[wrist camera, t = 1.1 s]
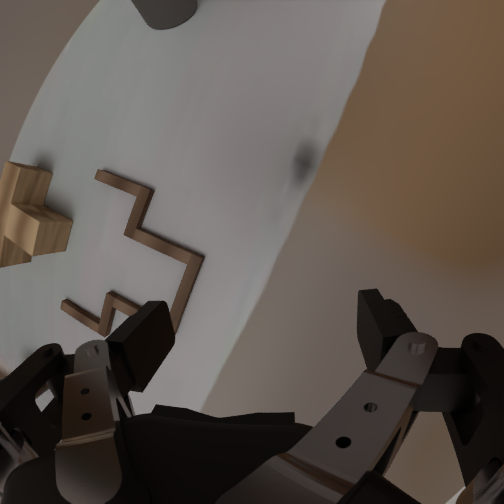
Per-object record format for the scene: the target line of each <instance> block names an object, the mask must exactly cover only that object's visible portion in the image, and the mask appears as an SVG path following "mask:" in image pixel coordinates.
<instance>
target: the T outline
mask: <svg viewBox="0 0 504 504" xmlns="http://www.w3.org/2000/svg"><path fill="white" fill-rule="evenodd" d="M94 179H96V180H98V181H101V182H103V183H105V184H108V185H110V186H113V187H115V188H117V189H120V190H122V191H125V192H127V193H130V194H132V195H134V196H137V198H136V201H135V203H134V206H133V209H132V212H131V215H130V217H129V220H128V223H127V226H126V229H125V232H124V235H125V236H127V237H129V238H131V239H133V240H135V241H138V242H140V243H142V244H144V245H146V246H148V247H150V248H152V249H155V250H157V251H159V252H161V253H163V254H165V255H168V256H170V257H172V258H174V259H176V260H179V261H181V262H183V263H185V264H187V267H186V270H185V272H184V275H183V278H182V280H181V283H180V286H179V289H178V291H177V294H176V297H175V300H174V303H173V305H172V308H171V311H170V316H171V320H172V324H173V328H174V332H175V334H176V332H177V329H178V326H179V324H180V321H181V318H182V316H183V313H184V310H185V307H186V305H187V302H188V299H189V297H190V294H191V291H192V289H193V286H194V284H195V281H196V278H197V276H198V273H199V271H200V268H201V265H202V263H203V260H204V258H205V257H204V256H201V255H199V254H197V253H194V252H192V251H190V250H188V249H185V248H183V247H181V246H179V245H176V244H174V243H172V242H170V241H167V240H165V239H163V238H161V237H158V236H156V235H154V234H152V233H150V232H147V231H145V230H143V229H141V226H142V223H143V220H144V217H145V214H146V212H147V209H148V206H149V204H150V201H151V199H152V196H153V193H154V191H153V190H151V189H148V188H146V187H143V186H141V185H138V184H136V183H133V182H131V181H128V180H126V179H123V178H121V177H118V176H116V175H113V174H110V173H108V172H105V171H103V170H99V169H98V170H97V173H96V176H95V178H94ZM140 308H141V307H140V306H139V305H137V304H135V303H133V302H131V301H129V300H127V299H125V298H123V297H122V296H120V295H118V294H116V293H114V292H112V291H110V292H108V293H106V297H105V301H104V305H103V309H102V314H101V318H100V319H98V318H97V317H95V316H93V315H92V314H90V313H88V312H87V311H85V310H84V309H82V308H80V307H79V306H77V305H76V304H74V303H73V302H71V301H70V300H68V299H65V300H63V301H62V303H61V310H63V311H64V312H66V313H67V314H69V315H70V316H72V317H73V318H75V319H76V320H78V321H79V322H81V323H83V324H84V325H86V326H87V327H89V328H90V329H92V330H94V331H95V332H97V333H99V334H100V335H102V336H104V337H106V336H108V335H109V334H110V330H111V326H112V322H113V318H114V314H115V310H116V309H117V310H119V311H121V312H123V313H124V314H126V315H128V316H131V315H133V314H135V313H136V312H137V311H138V310H139V309H140Z"/></svg>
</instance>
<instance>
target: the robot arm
mask: <svg viewBox="0 0 504 504" xmlns="http://www.w3.org/2000/svg"><path fill="white" fill-rule="evenodd" d="M131 1H132V2H133V4H134V5H135V7H136V8H137V10H138V11H139V13H140V14H141V16H142V17H143V19H144V20H145V22H146V23H147V25H148V26H149V27H151V28H153V29H168V28H172V27H175V26H177V25H180V24H181V23H183V22H185V21H186V20H188V19H189V18H190V17H191V16H192V15H193V14H194V12H195V11H196V8H197V3H196V0H131ZM357 309H358V310H357V337H358V341H359V344H360V348H361V351H362V354H363V357H364V360H365V364H366V367H367V369H366V370H364V371H363V372H362V373H361V375H360V376H359V377H358V379H357V380H356V381H355V382H354V383H353V385H352V386H351V387H350V388H349V389H348V390H347V392H346V393H345V394H344V395H343V396H342V397H341V398H340V400H339V401H338V402H337V403H336V404H335V405H334V406H333V407H332V408H331V409H330V411H329V412H328V413H327V414H326V415H325V416H324V417H323V418H322V419H321V420H320V421H319V422H318V423H317V424H316V425H315V426H314V427H312V426H309V425H305V424H301V423H295V413H294V412H286V413H253V414H246V415H239V416H231V417H223V418H217V417H213V416H209V415H205V414H203V413H199V412H196V411H193V410H190V409H187V408H179V407H171V406H164V405H157V404H156V405H155V407H154V409H153V410H152V412H151V413H148V414H140V415H135V412H134V409H133V405H132V401H131V398H130V396H129V394H128V392H129V391H136V392H143V391H144V389H145V388H146V386H147V385H148V383H149V382H150V380H151V379H152V377H153V376H154V374H155V373H156V371H157V370H158V368H159V367H160V365H161V364H162V362H163V361H164V359H165V358H166V356H167V355H168V353H169V352H170V350H171V349H172V347H173V346H174V343H175V332H174V328H173V324H172V320H171V316H170V312H169V308H168V305H167V303H166V302H165V301H148V302H147V303H145V304H144V305H143V306H142V307H141V308H140V309H139V310H138V311H137V312H136V313H135V314H133V315H131V316H129V317H128V318H127V319H126V320H125V321H124V322H123V323H122V324H121V325H120V326H119V327H118V328H117V329H116V330H115V331H114V332H113V333H112V334H111V335H110V336H109V337H107V338H106V339H105V340H92V341H88V342H86V343H84V344H82V345H81V346H79V347H78V348H77V349H76V351H75V354H69V355H64V352H63V350H62V348H61V346H60V345H59V344H56V343H52V344H47V345H44V346H42V347H40V348H39V349H38V350H36V351H35V352H34V353H33V354H32V355H31V356H30V357H28V358H27V359H26V360H25V361H24V362H23V363H22V364H21V365H19V366H18V367H17V368H16V369H15V370H14V371H13V372H12V373H11V374H10V375H9V376H7V377H6V378H5V379H4V380H3V381H2V382H1V383H0V496H1V497H2V500H1V504H421V503H420V502H418V501H416V500H415V499H414V498H412V497H411V496H409V495H408V494H406V493H405V492H403V491H402V490H401V489H399V488H398V487H397V486H395V485H394V484H392V483H391V482H390V481H388V480H387V479H386V478H384V476H385V474H386V473H387V471H388V469H389V468H390V466H391V464H392V462H393V460H394V458H395V456H396V454H397V453H398V451H399V449H400V447H401V445H402V444H403V442H404V440H405V439H406V437H407V435H408V433H409V431H410V429H411V428H412V426H413V424H414V422H415V420H416V418H417V416H418V414H419V412H420V411H424V412H442V414H443V417H444V420H445V423H446V425H447V428H448V431H449V434H450V437H451V440H452V443H453V446H454V449H455V452H456V455H457V458H458V462H459V465H460V468H461V472H462V476H463V479H464V483H465V487H466V488H465V489H464V490H463V491H462V492H461V494H460V495H459V497H458V498H457V501H456V504H504V348H503V347H502V346H501V345H500V343H499V342H498V341H497V340H496V339H495V338H494V337H492V336H489V335H487V334H483V333H473V334H469V335H467V336H466V337H465V338H464V339H463V341H462V344H461V348H441V347H438V342H437V340H436V339H435V338H434V337H432V336H430V335H429V334H425V333H422V332H418V331H417V330H416V328H415V327H414V325H413V324H412V322H411V321H410V319H409V318H407V315H406V313H405V312H404V311H403V309H402V308H401V306H400V305H399V304H398V303H396V302H395V301H393V300H391V299H386V300H384V298H383V297H382V295H381V294H380V292H379V291H378V289H368V290H359V292H358V308H357ZM45 383H47V385H48V386H49V388H50V390H51V392H52V394H53V395H54V398H53V399H52V401H51V402H50V403H49V404H48V405H47V406H46V408H45V409H44V410H43V411H42V412H41V411H40V409H39V408H38V406H37V404H36V402H35V395H36V393H37V391H38V390H39V389H40V388H41V387H42V386H43V385H44V384H45ZM61 439H62V441H61ZM60 441H61V442H60ZM59 442H60V443H59Z"/></svg>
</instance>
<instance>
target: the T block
mask: <svg viewBox="0 0 504 504" xmlns="http://www.w3.org/2000/svg"><path fill="white" fill-rule="evenodd" d="M52 175H53V174H52V173H49V172H47V171H45V170H43V169H40V168H38V167H35V166H30V165H25V164H20V163H15V162H10V161H6V163H5V166H4V169H3V173H2V177H1V180H0V268H1V267H6V266H11V265H17V264H22V263H27V262H31V258H32V256H37V255H43V254H50V253H56V252H62V251H66V246H67V242H68V238H69V235H70V231H71V227H72V224H73V221H71V220H69V219H67V218H66V217H64V216H62V215H60V214H58V213H56V212H55V211H53V210H51V209H49V208H47V207H46V206H44V201H45V198H46V194H47V191H48V188H49V185H50V181H51V178H52Z"/></svg>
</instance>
